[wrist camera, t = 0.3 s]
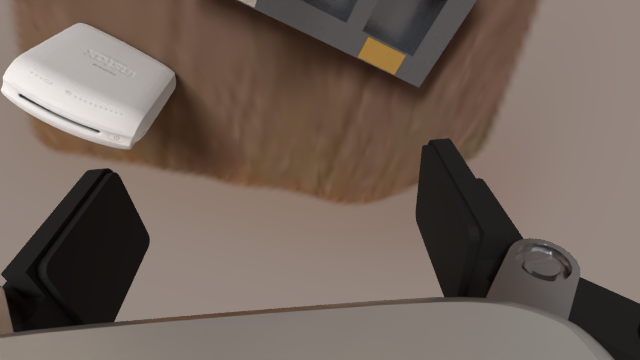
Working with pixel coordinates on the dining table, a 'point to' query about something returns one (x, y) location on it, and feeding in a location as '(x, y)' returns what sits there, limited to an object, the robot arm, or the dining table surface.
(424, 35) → the socket panel
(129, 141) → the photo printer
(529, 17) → the dining table surface
